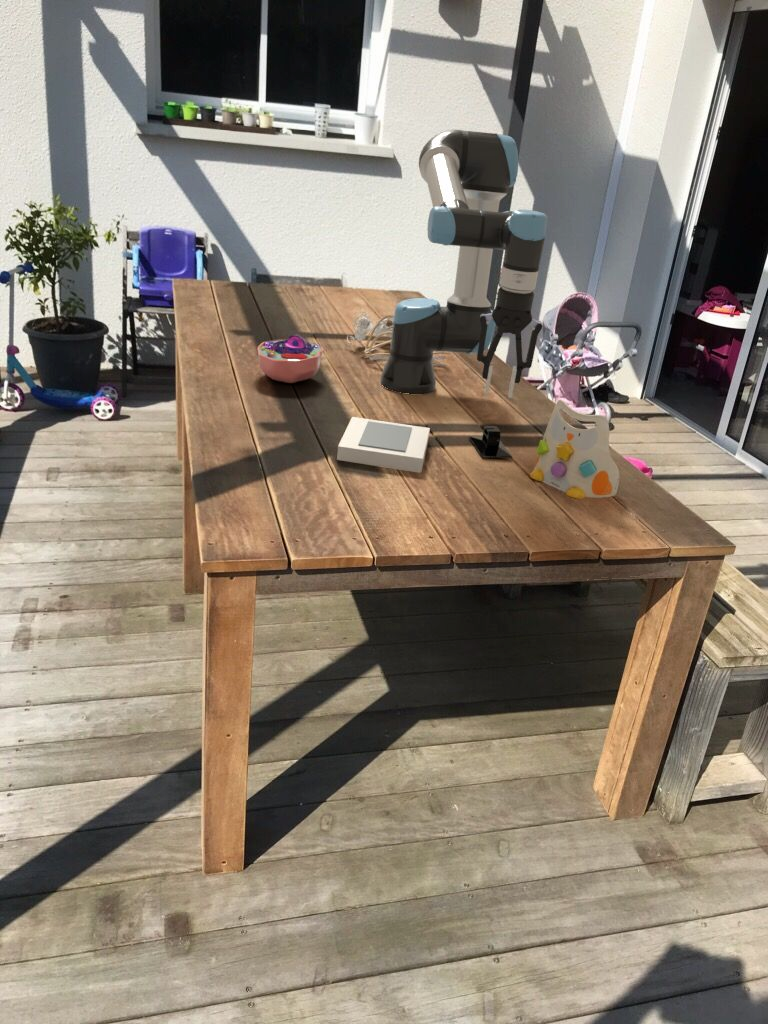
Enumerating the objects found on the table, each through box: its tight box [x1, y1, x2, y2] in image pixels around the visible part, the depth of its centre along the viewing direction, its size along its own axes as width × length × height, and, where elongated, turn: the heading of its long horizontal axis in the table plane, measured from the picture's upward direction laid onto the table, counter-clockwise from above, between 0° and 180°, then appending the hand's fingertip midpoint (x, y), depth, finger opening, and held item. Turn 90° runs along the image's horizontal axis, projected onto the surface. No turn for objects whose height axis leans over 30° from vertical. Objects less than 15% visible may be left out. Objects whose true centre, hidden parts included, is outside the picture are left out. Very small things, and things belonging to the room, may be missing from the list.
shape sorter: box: [529, 399, 620, 500], centre depth 175 cm, size 20×10×18 cm, turn 45°
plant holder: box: [346, 309, 451, 368], centre depth 249 cm, size 28×35×16 cm
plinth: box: [336, 416, 431, 474], centre depth 183 cm, size 18×18×4 cm
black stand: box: [468, 425, 513, 459], centre depth 191 cm, size 12×7×5 cm, turn 9°
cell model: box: [257, 334, 324, 384], centre depth 219 cm, size 17×20×11 cm
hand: (498, 394), depth 185 cm, fingers open, 4 cm apart
